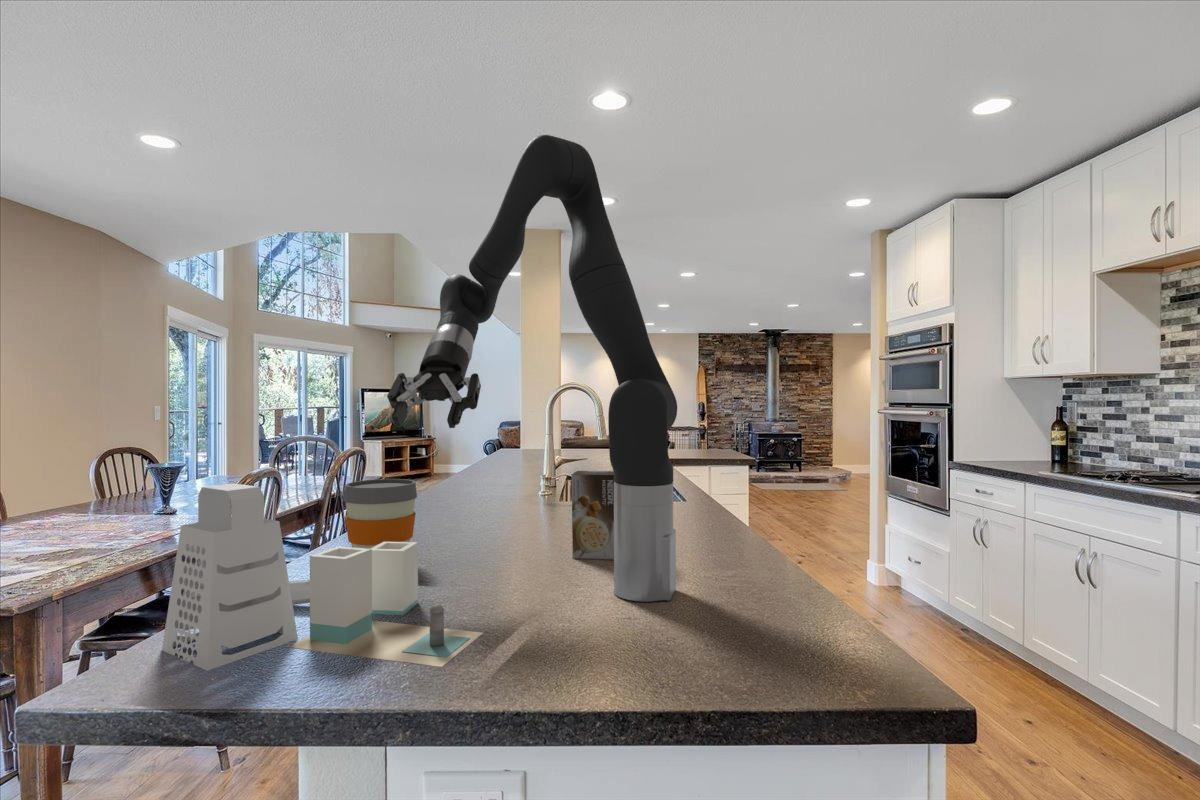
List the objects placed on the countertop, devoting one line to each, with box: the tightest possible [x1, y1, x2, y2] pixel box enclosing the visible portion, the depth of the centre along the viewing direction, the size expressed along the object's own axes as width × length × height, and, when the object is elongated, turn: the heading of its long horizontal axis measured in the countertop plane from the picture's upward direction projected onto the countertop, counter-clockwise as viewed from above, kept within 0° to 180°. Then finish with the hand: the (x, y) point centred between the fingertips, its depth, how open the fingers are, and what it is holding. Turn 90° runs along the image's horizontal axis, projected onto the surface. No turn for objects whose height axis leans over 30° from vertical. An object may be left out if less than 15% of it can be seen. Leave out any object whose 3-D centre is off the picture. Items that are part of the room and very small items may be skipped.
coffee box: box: [570, 470, 614, 560], centre depth 119 cm, size 9×6×16 cm
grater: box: [161, 482, 299, 672], centre depth 73 cm, size 10×10×20 cm
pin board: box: [287, 603, 484, 668], centre depth 74 cm, size 20×10×6 cm, turn 75°
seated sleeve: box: [309, 546, 373, 644], centre depth 76 cm, size 5×5×10 cm
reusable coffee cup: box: [343, 478, 418, 549], centre depth 112 cm, size 13×13×15 cm
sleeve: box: [371, 541, 419, 616], centre depth 85 cm, size 5×5×10 cm
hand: (423, 424), depth 96 cm, fingers open, 8 cm apart
